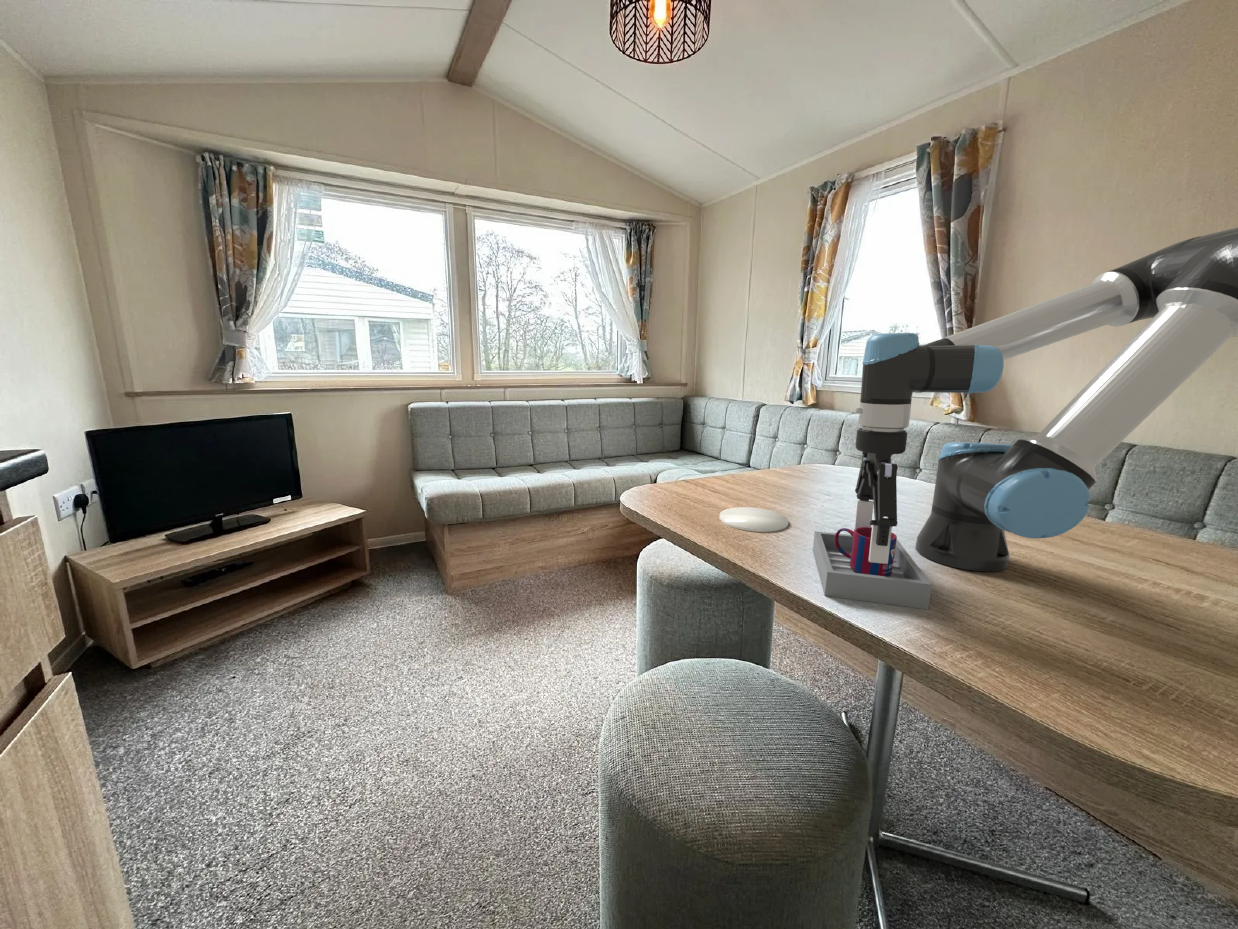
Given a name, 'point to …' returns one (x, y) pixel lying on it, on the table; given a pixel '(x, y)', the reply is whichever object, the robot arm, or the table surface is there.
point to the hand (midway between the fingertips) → (869, 547)
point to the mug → (866, 552)
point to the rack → (844, 582)
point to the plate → (753, 519)
